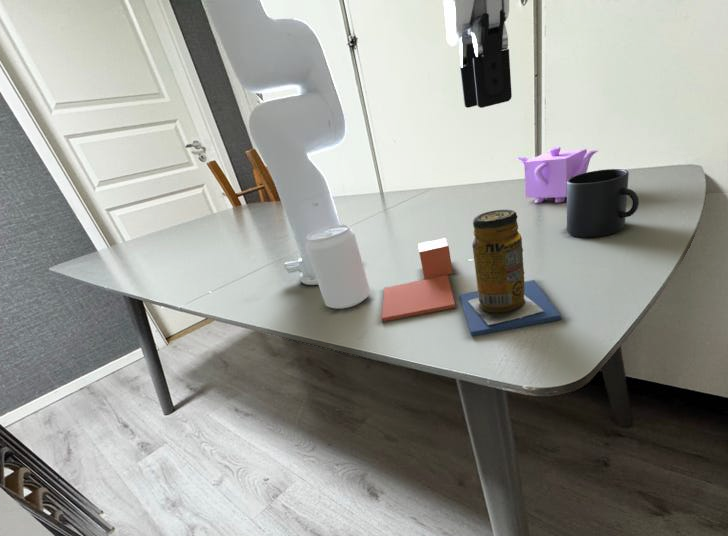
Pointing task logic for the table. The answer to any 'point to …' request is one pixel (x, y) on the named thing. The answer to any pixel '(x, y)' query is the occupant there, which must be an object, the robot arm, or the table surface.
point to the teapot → (553, 172)
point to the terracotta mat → (417, 298)
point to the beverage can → (338, 266)
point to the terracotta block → (435, 258)
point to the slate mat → (535, 295)
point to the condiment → (499, 268)
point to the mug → (598, 202)
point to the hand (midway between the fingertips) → (485, 104)
